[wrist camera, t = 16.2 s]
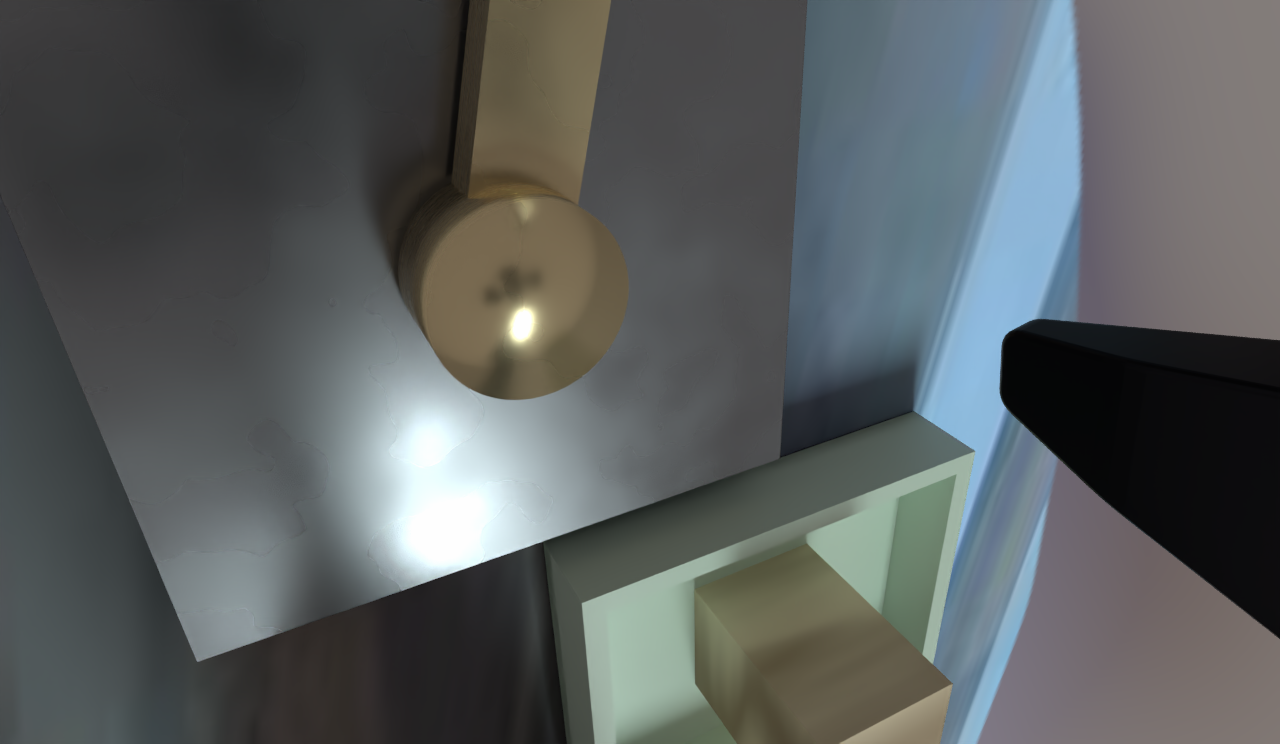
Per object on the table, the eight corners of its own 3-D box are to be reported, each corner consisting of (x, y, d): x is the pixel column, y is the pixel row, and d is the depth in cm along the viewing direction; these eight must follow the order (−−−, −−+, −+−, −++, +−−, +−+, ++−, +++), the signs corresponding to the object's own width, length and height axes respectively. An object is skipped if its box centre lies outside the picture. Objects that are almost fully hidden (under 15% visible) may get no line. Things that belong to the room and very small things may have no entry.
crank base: (748, 431, 23) (790, 468, 22) (194, 613, 18) (198, 680, 16) (771, -222, 16) (839, -237, 14) (-155, -246, 10) (-210, -274, 9)
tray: (878, 646, 31) (926, 695, 29) (572, 792, 26) (605, 863, 25) (913, 411, 26) (975, 451, 24) (542, 540, 21) (581, 602, 19)
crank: (568, 352, 17) (689, 480, 13) (390, 355, 15) (470, 503, 12) (664, -218, 13) (875, -273, 9) (444, -299, 12) (589, -411, 8)
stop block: (799, 636, 28) (931, 783, 23) (695, 683, 26) (813, 851, 21) (807, 543, 26) (952, 683, 21) (694, 589, 24) (824, 751, 19)
